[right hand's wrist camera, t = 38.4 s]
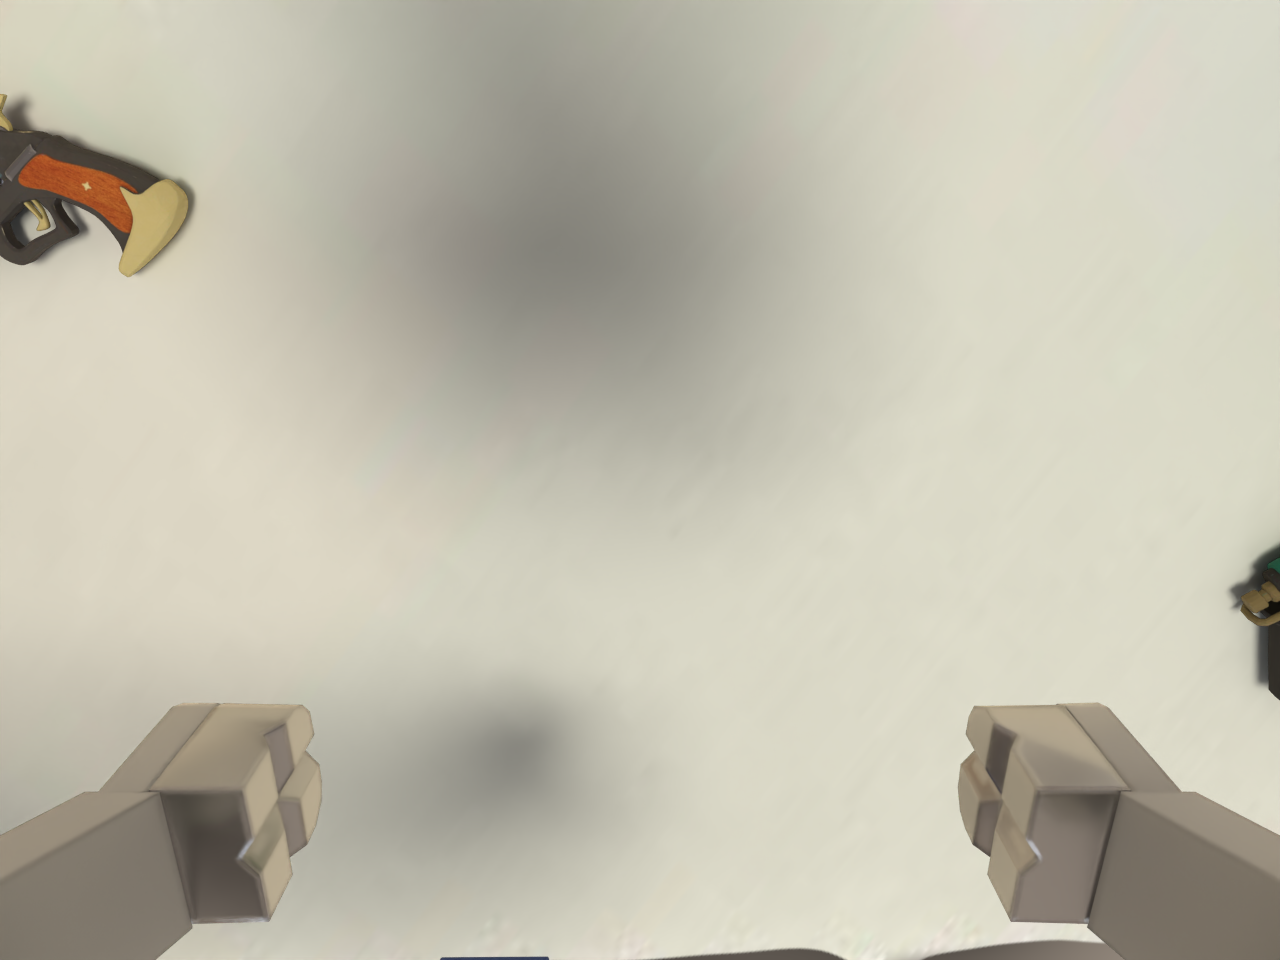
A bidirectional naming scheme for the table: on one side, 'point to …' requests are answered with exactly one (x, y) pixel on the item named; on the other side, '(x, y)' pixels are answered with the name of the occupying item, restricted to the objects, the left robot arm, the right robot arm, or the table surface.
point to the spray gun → (1268, 619)
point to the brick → (494, 958)
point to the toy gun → (82, 196)
